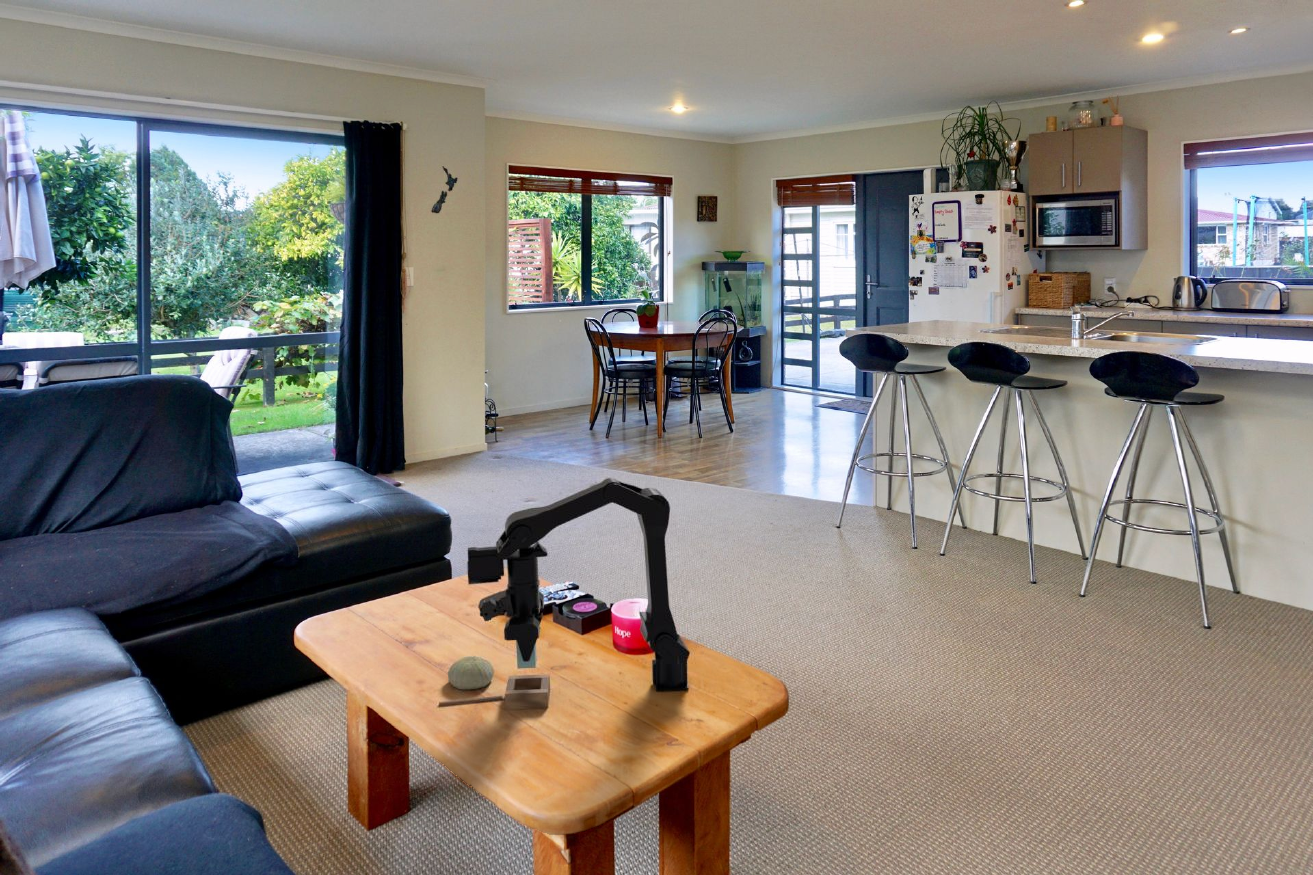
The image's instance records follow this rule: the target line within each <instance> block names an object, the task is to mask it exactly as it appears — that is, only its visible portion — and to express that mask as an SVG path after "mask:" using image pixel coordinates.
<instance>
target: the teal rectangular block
mask: <svg viewBox="0 0 1313 875" xmlns="http://www.w3.org/2000/svg"><path fill="white" fill-rule="evenodd" d="M515 642H516V666H517V670H520V669H521V670H522V669H535V668H536V667H537V663H538V661H537V660H538V659H537V657H538V656H537V643H536V644H535V646H534V649H533V652H532V655H531V657H530V660H529V661H527V662H524V661H523V658H522V655H521V652H520V649H519V646H518V643H517V640H515Z"/></svg>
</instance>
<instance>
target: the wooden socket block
mask: <svg viewBox="0 0 1313 875" xmlns="http://www.w3.org/2000/svg"><path fill="white" fill-rule="evenodd" d="M506 683H507V684H506V687H505V691H504V705H505V710H506V711H510V710H512V711H515V710H531V709H532V710H535V709H537V710H538V709H549V704H550V695H551V675H550V673H547V674H544V673H543V674H522V675H508V679H507V682H506Z"/></svg>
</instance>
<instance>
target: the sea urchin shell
mask: <svg viewBox="0 0 1313 875" xmlns="http://www.w3.org/2000/svg"><path fill="white" fill-rule="evenodd" d="M494 675H495V672H494V666H493V664H492V663H491V662H490V661H489V660H488V659H485V658H483V657H481V656H480V657H479V656H476V655H474V656H473V655H468V656H465V657H462V658H460V659H459V660H456V661H455V662H454V663H452V664H451V666H450V667H449V669H448V672H447V678H448V681H449V683H450V684H451V685H452V686H453V687H454V688H456V689H458V690H469V691H470V690H477V689H480V688H484V687H485V686H487V685H488V684H490V683H491V681H492V680H493V678H494Z"/></svg>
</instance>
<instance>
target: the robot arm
mask: <svg viewBox="0 0 1313 875" xmlns="http://www.w3.org/2000/svg"><path fill="white" fill-rule="evenodd" d="M612 503H613V504H616V505H618V506H621V507H622V508H624V509H627V510H629V511H630V512H632V513H635V514H636V516H637V520H638V522H639V523H638V524H639V526H640V529H641V532H642V536H643V547H644V548H643V549H644V563H645V578H646V588H647V589H646V592H647V593H646V594H647V606H646V610H645V611H638V613H639V619H640V626H639V627H640V628H639V630H640V631H639V632H640V633H641V634H642V637H643V639H644V641H645V643H647V644H648V645H649V647H650V650H651V651H652V652H654V659H652V660H651V679H652V680H651V681H652V684H653V685H654V687H655V691H656V692H663V691H664V692H666V691H667V692H669V691H685V690H686V691H687V690H689V689H690V687H689V682H688V659H689V656H690V653H691V651H690V650H689V649H688V647H687V645H686V643H685V642H684V640H683V639H682V637H681V635H680V634H678V633H677V628H676V624H675V620H674V617H673V615H672V611H671V608H670V598H669V596H670V595H669V584H668V570H667V569H668V566H667V554H666V553H667V551H666V535H667V530H668V527H669V522H670V514H671V506H670V502H669V500H667V498H666V497H665V495H663V493H661V491H659V490H658V489H657V488H654V487H645V488H642V487H639V486H636V485H634V484H631V483H627V482H623V481H619V480H618V479H617V478H614V477H609V478H608V477H607V478H605V479H603V480H602V481H601V482H599V483H596V484H594V485H592V486H590V487H587V488H585V489H583V490H580V491H578V492H576V493H574V494H571V495H569V496H566V497H564V498H562V499H560V500H558V501H557V500H556V501H555V502H553V503H551V504H548V505H544V506H539V507H538V506H537V507H530V508H527V509H522V510H519V511H515V512H512V513H510V515H509V516H507V518H506V520H505V523H504V530H503V532H502V534H501V535H500V536H499V538H497V541H496V542H495V545H494V546H484V547H476V546H471V547H470V546H469V547H467V563H466V564H467V582H468V583H467V584H468V585H479V584H481V585H482V584H492V583H499V581H500V580H502V577H505V565H504V564H505V563H504V561H505V560H506V565H507V568H506V570H507V583H506V584H507V585H506V586H507V587H506V588H505V589H504V590H502V591H498V592H496V593H493V594H490V595H487V596H485V597H483V598H481V599H480V600H479V603H478V606H477V608H478V609H479V616H480V618H481V617H482V618H483V621H484V622H489V621H491V620H492V619H494V618H496V617H498V616H501V615H504V614H505V613H506V617H510V618H509V619H508V621H506V622H505V624H504V629H503V636H504V641H516V640H517V643H518V646H519V649H520V652H521V655H522V658H523V661H524V662H527V661H529V660H530V657H531V655H532V652H533V649H534V646H535V644H536V645H537V640H538V639H539V638H540V633H541V622H542V620H543V612H542V611H541V612H540V610H541V609H544V608H545V607H544V606H545V597H544V596H545V595H544V594H543V593H542V592H541V591H540V586H541V585H540V583H541V581H540V579H539V564H538V563H539V562H538V558H543V557H548V550H547V548H546V547H544V546H543V545H541V544H540V540H542V539H544V538H545V537H546V536H547V535H548V534H549V533H551V531H553V530H554V529H556V528H557V527H559V526H561V525H564V524H566V523H568V522H571V521H573V520H575V519H578V518H579V517H582V516H584V515H587V514H589V513H591V512H593V511H596V510H598V509H600V508H603V507H605V506H607V505H610V504H612Z"/></svg>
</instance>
